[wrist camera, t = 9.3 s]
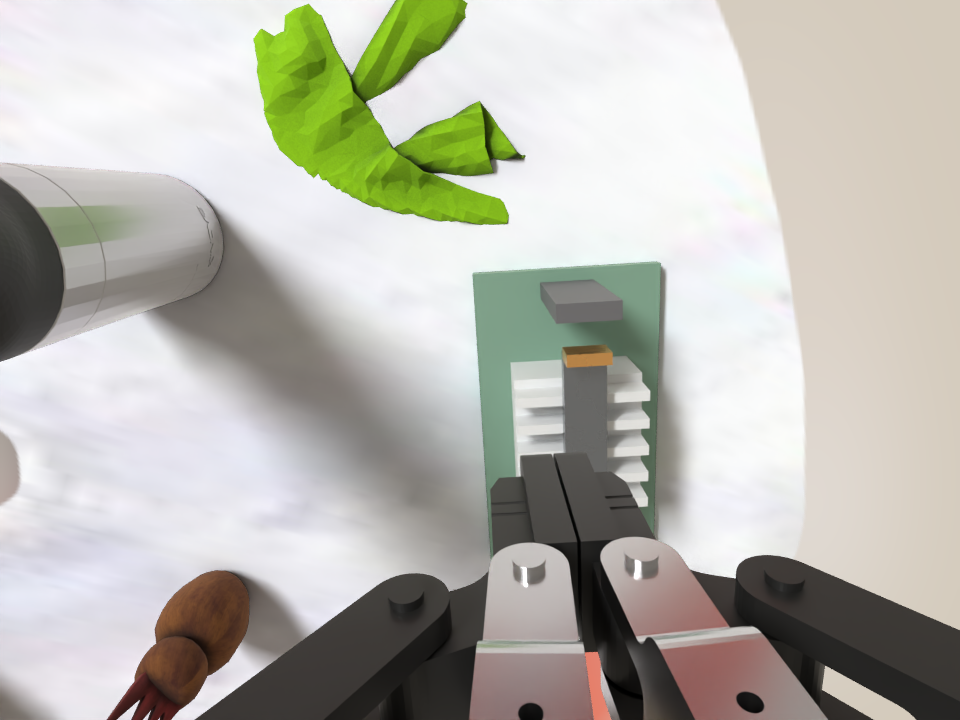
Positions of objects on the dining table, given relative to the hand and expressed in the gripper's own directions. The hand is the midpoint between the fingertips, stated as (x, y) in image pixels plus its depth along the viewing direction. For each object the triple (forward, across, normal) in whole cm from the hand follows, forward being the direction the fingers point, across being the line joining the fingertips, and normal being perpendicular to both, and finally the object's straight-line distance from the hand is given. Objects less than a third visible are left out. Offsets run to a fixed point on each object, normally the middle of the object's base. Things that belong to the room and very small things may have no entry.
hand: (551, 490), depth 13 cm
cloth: (+33, +5, -13) cm, 36 cm away
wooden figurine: (+32, +26, +26) cm, 49 cm away
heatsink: (+32, -5, +12) cm, 35 cm away
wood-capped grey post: (+25, -5, +12) cm, 28 cm away
